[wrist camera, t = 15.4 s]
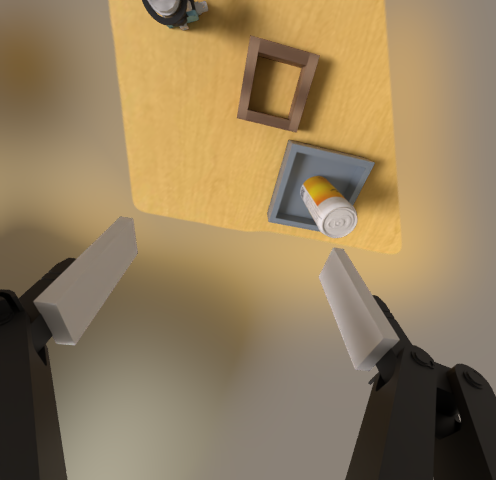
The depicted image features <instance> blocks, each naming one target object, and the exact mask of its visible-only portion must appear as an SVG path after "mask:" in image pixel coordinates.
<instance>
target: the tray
mask: <svg viewBox="0 0 496 480" xmlns="http://www.w3.org/2000/svg"><path fill="white" fill-rule="evenodd" d="M374 164H375V163H374V162H372V161H371V160H369V159H367V158H364V157H360V156H356V155H352V154H347V153H343V152H339V151H335V150H330V149H326V148H322V147H318V146H314V145H309V144H305V143H301V142H297V141H293V140H288V144H287V147H286V151H285V154H284V157H283V161H282V164H281V168H280V171H279V175H278V178H277V182H276V185H275V188H274V192H273V195H272V199H271V202H270V206H269V209H268V212H267V215H268V221H269V222H272V223H277V224H282V225H288V226H293V227H298V228H304V229H309V230H315V231H320V230H319V228H318V226H317V225H316V223H315V221H314V219H313V217H312V216H311V214H310V212H309V210H308V208H307V207H306V205H305V203H304V201H303V199H302V197H301V194H300V190H301V187H302V185H303V183H304V182H305V181H306V180H307V179H309V178H311V177H313V176H322V177H324V178H326V179H327V180H328V181H329V182H330V183H331V184H332V185H333V186H334V187H335V188H336V189H337V190H338V191H339V192H340V193H341V195H342V196H343V197H344V198H345V199H346V200H347V201H348V202H349V203H350V204H351V205H352V206H353V204H354V203H355V201H356V199H357V197H358V195H359V193H360V191H361V189H362V187H363V185H364V183H365V181H366V179H367V177H368V175H369V174H370V172H371V170H372V168H373V166H374ZM320 232H321V231H320Z"/></svg>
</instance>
